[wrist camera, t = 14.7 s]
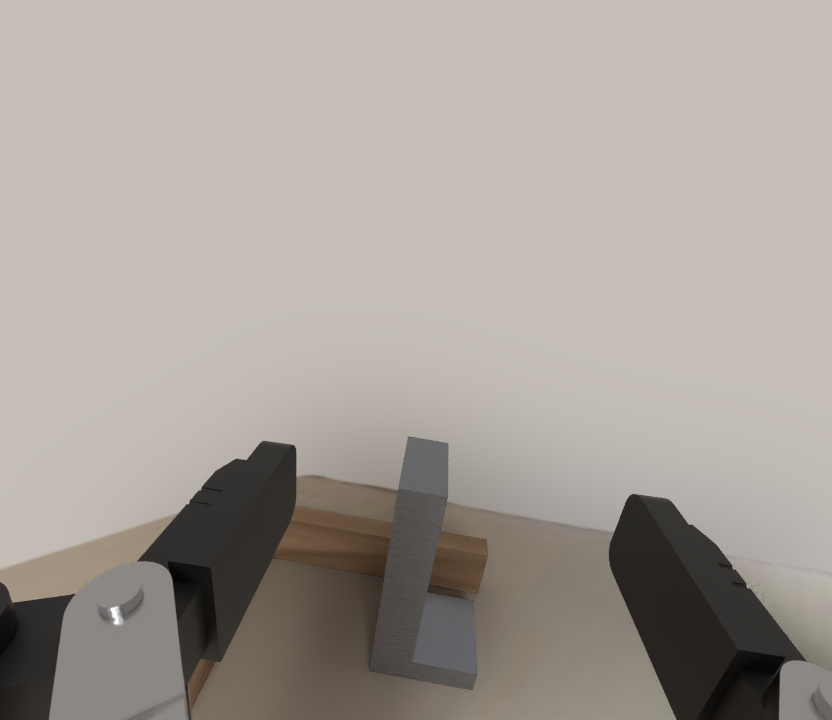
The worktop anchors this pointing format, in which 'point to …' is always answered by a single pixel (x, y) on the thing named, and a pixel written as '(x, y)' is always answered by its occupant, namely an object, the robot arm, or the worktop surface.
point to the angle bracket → (422, 583)
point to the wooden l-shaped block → (365, 556)
